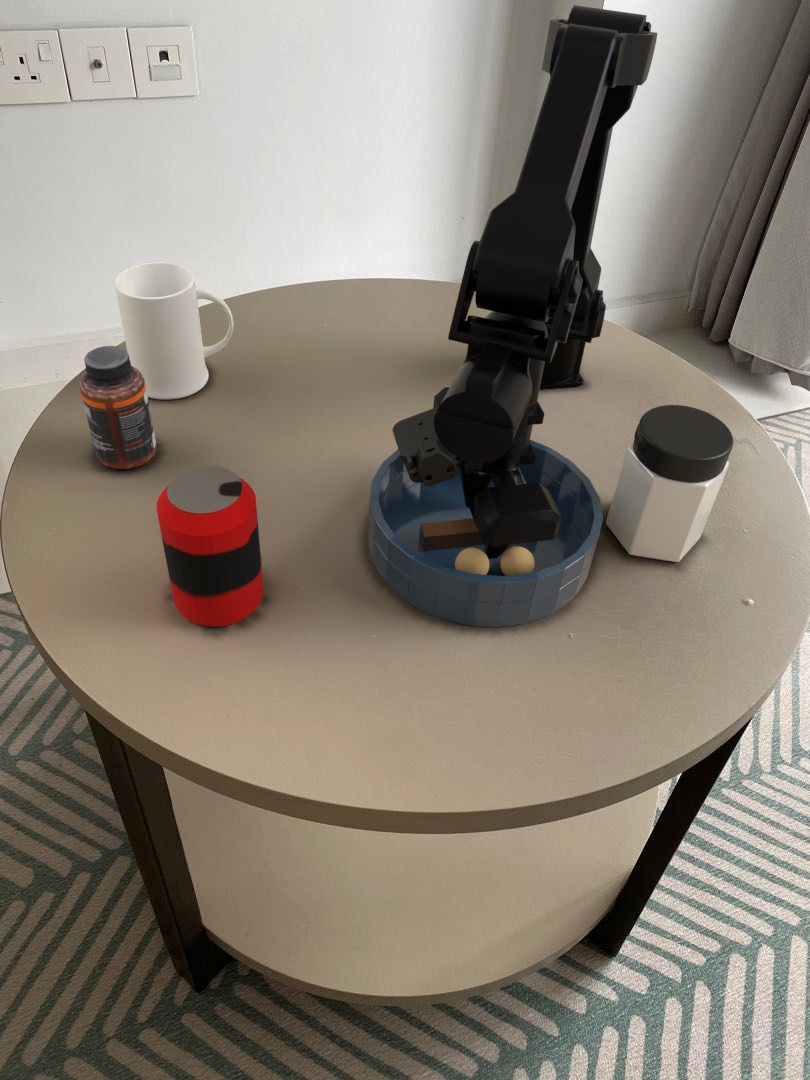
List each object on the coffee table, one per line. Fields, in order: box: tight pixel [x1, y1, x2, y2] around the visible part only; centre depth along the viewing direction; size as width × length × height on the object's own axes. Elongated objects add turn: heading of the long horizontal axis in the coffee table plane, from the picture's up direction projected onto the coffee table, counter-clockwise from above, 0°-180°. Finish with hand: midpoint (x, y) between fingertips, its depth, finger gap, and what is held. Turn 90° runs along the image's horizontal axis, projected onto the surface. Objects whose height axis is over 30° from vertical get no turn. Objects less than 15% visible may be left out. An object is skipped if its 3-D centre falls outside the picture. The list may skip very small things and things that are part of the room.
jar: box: [605, 404, 734, 563], centre depth 79 cm, size 9×8×12 cm
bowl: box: [367, 439, 604, 628], centre depth 79 cm, size 21×21×6 cm
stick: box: [419, 518, 484, 551], centre depth 80 cm, size 11×2×2 cm, turn 102°
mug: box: [114, 261, 235, 401], centre depth 94 cm, size 12×8×12 cm
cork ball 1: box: [455, 548, 489, 575], centre depth 76 cm, size 3×3×3 cm
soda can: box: [155, 465, 265, 628], centre depth 70 cm, size 8×8×12 cm
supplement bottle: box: [79, 345, 158, 470], centre depth 84 cm, size 6×6×11 cm
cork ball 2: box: [500, 546, 535, 576], centre depth 76 cm, size 3×3×3 cm
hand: (480, 531), depth 80 cm, fingers open, 7 cm apart
